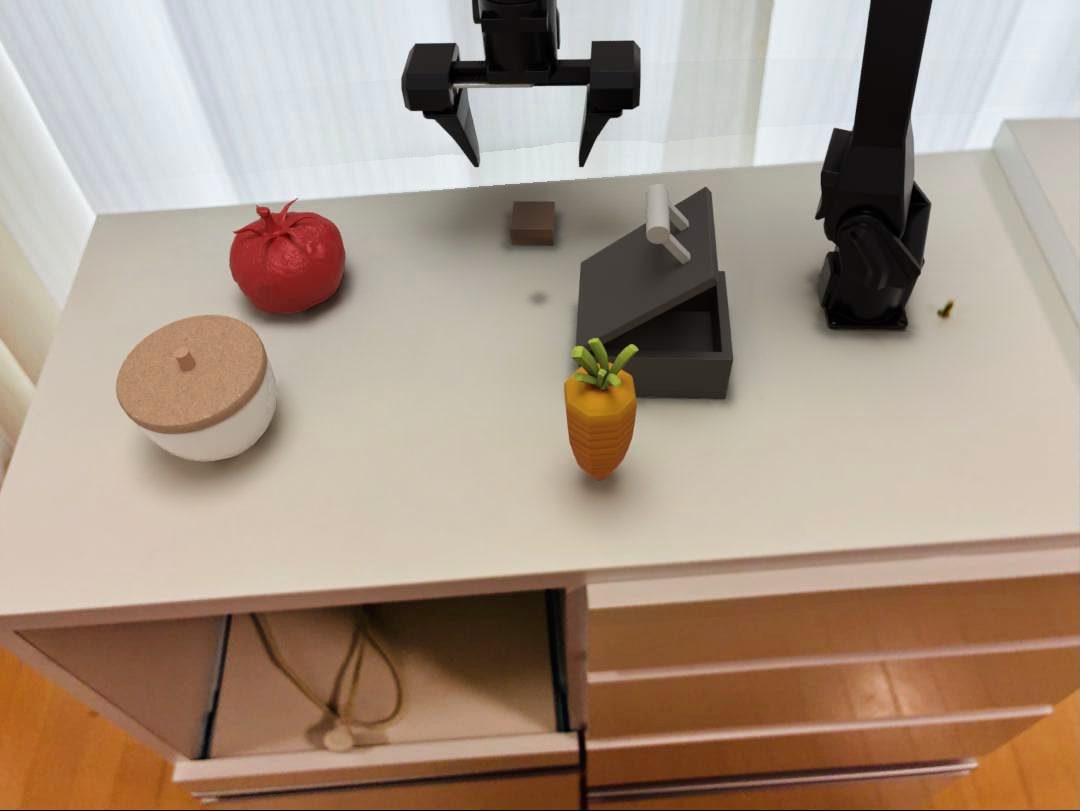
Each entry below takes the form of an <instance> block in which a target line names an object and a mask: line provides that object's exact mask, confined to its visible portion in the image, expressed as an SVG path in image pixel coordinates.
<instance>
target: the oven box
mask: <svg viewBox="0 0 1080 811" xmlns="http://www.w3.org/2000/svg"><path fill="white" fill-rule="evenodd" d="M718 273H719V284H717V285H715V286H713V287H711V288H709V289H707V290H705V291H704V292H702V293H700V294H698V295H696V296H694V297H692V298H690V299H688V300H686V301H684V302H683V303H681V304H679V305H677V306H675V307H673V308H671V309H669V310H667V311H665V312H663V313H662V314H660V315H658V316H656V317H654V318H652V319H650V320H648V321H646V322H644V323H642V324H641V325H639V326H637V327H635V328H633V329H631V330H629V331H627V332H625V333H623V334H621V335H620V336H618V337H616V338H614V339H612V340H610V341H608V342H606V343H604V344H603V346H604V349H605V351H606V353H607V357H608V363H612V364H614V362H615V360H616V359H617V357H618V355H619V354H620V353H621V352H622V351H623V350H624V349H625V348H626V347H627V346H629V345H630V344H633V345H635V346H636V347H637V348H638V349H639V350H638V351H637V352H636V353H635V354H634V355H633V356H632V357H631V358H630V359H629V361H628V362H627V363H626V364H625V365H624V367H623V368H622V370H623V371H625V372H626V373H628V374H630V375H631V376H632V378H633V383H634V389H635V395H636V398H668V399H669V398H670V399H671V398H674V399H675V398H677V399H712V400H713V399H716V400H717V399H718V400H719V399H720V400H725V399H726V396H727V391H728V387H729V382H730V378H731V372H732V368H733V362H734V353H733V343H732V332H731V322H730V321H731V320H730V310H729V300H728V289H727V288H728V287H727V279H726V271H725V270H718ZM589 353H590V354H591V355H592V357H593V358H594V359H595V361H596V363H599V362H598V359H597V357H596V356H595V354H594V352H593V351H592V350H591V351H589ZM580 367H581V365H579V364H578V369H579V368H580Z"/></svg>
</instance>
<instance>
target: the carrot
mask: <svg viewBox="0 0 1080 811" xmlns="http://www.w3.org/2000/svg"><path fill="white" fill-rule="evenodd" d="M588 344H589V345H590V347H591V349H592V351H593V352H594V354H595V356H596V357H597V359H598V362H599V363H596V361H595V359H594V358H593V357H592V355H591V354H590V353H589V352H588V351H587V350H586V349H585V348H584V347H582V346H577V347H576V346H574V347H573V349H572V351H571V358H572V360H574V361H575V363H577V364H578V366H579V365H581V367H580V368H579V367H578V369H576V371H575V372H574V373H573V374H571V375H570V376H569V377H568V378H567V379H566V380H565V382H564V384H563V392H564V393H563V394H564V404H565V416H566V426H567V433H568V441H569V445H570V449H571V451H572V454H573V456H574V458H575V461H576V464H577V465H578V466H579V467H580V468H581V469H582V472H584V473H586V474H587V475H588V476H590V477H591V478H592V479H594V480H595V481H604V480H605V479H607V478H608V477H610V476H611V474H612V473H613V472H614V471H615V470H617V468H618V467H619V466H620V464H622V462H623V461H624V459H625V457H626V455H627V453H628V450H629V449H630V445H631V444H632V440H633V436H634V431H635V430H634V429H635V424H636V417H637V409H638V407H637V406H638V401H637V397H636V395H635V389H634V383H633V378H632V376H631V375H630V374H628V373H626V372H625V371H623V370H622V368H623V367H624V365H625V364H626V363H627V362H628V361H629V359H630V358H631V357H632V356H633V355H634V354H635V353H636V352H637V351H638V350H639V349H638V348H637V347H636V346H635V345H633V344H630V345H629V346H627V347H626V348H625V349H624V350H623V351H622V352H621V353H620V354H619V355H618V357H617V359H616V360H615V362H614V364H612V363H608V357H607V353H606V351H605V349H604V346H603V344H602V343H601V341H600V340H599V338H593V339H591V340H589V341H588Z"/></svg>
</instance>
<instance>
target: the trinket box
mask: <svg viewBox="0 0 1080 811" xmlns="http://www.w3.org/2000/svg"><path fill="white" fill-rule="evenodd" d="M115 392H116V393H115V394H116V398H117V401H118V404H119V406H120V407H121V409H122V410H123V412H124V414H126V416H127V417H128V418H129V419H130V420H131V421H132V422H134V423H135V424H136V426H137V427H138V428H139V429H140V431H141V432H142V433H143V434H144V435H145V436H146V437H147V438H148V439H150V441H152V442H153V443H154V444H155V445H156V446H158V447H159V448H161V449H162V450H163V451H165V452H167V453H169V454H170V455H173V456H176V457H177V458H181V459H185V460H188V461H194V462H214V461H215V462H216V461H222V460H228V459H232V458H235V457H237V456H240V455H242V454H243V453H244V452H247V451H248V450H249V449H251V448H252V447H253V446H254V445H255V444H256V443H257V442H258V440H260V438H261V437H262V436H263V434H264V433H265V432H266V430H267V429H268V428H269V426H270V423H271V421H272V420H273V417H274V413H275V410H276V404H277V396H278V395H277V394H278V393H277V383H276V377H275V375H274V371H273V367H272V364H271V362H270V359H269V357H268V354H267V352H266V347H265V345H264V343H263V341H262V339H261V337H260V336H259V334H258V333H257V331H255V329H254V328H253V327H251V326H250V325H248V324H247V323H246V322H244V321H242V320H240V319H237V318H234V317H230V316H227V315H220V314H202V315H201V314H200V315H194V316H190V317H185V318H181V319H179V320H176V321H175V320H174V321H173V322H170V323H168V324H166V325H163V326H162V327H159V328H158V329H155V331H153V332H151V333H150V334H148V335H147V336H146V337H144V338H143V339H142V340H141V341H140V342H139V343H138V344H136V345H135V346H134V347H133V349H132V350H131V351H130V352H129V353H128V354H127V356H126V358H125V359H124V360H123V362H122V364H121V366H120V368H119V370H118V374H117V378H116V383H115Z"/></svg>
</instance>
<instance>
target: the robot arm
mask: <svg viewBox="0 0 1080 811" xmlns="http://www.w3.org/2000/svg"><path fill="white" fill-rule="evenodd" d="M869 1H870V2H869V8H868V16H867V25H866V31H865V38H864V44H863V45H864V46H863V53H862V60H861V68H860V74H859V75H860V76H859V83H858V90H857V97H856V105H855V111H854V119H853V120H854V121H853V126H852V128H851V130H848V129H843V128H838V127H833V128H832V132H831V135H830V139H829V142H828V146H827V149H826V152H825V155H824V156H825V157H824V160H823V163H822V166H821V171H820V191H821V193H820V198H819V200H818V205H817V209H816V212H815V215H814V220H815V221H821V220H823V225H822V226H823V234H824V235H825V238H826V240H827V241H829V242H831V243H833V244H834V248H833V251H832V250H829V251H828V252H826V254H825V257H824V260H823V264H822V268H821V271H820V272H819V275H818V281H817V285H816V289H817V295H818V300H819V305H820V307H821V308H822V309H823V310H824V315H825V320H826V325H827V328H829V329H832V330H868V331H870V330H871V331H905V330H906V329H907V328H908V326H909V319H908V316H907V311H906V307H907V305H908V303H909V300H910V298H911V295H912V293H913V291H914V289H915V286H916V284H917V282H918V279H919V277H920V276H921V274H922V270H923V267H924V265H925V263H926V260H925V257H924V256H925V250H926V242H927V237H928V229H929V224H930V218H931V212H932V202H931V200H930V199H929V198H928V197H927V195H926V193H924V191H923V190H922V189H921V187H920V186H919V184H918V183H917V182H916V180H915V169H916V168H915V137H914V130H913V123H912V112H913V106H914V99H915V95H916V89H917V84H918V79H919V74H920V69H921V63H922V58H923V52H924V48H925V42H926V36H927V32H928V28H929V27H928V26H929V21H930V18H931V17H930V15H931V10H932V6H933V1H934V0H869ZM471 10H472V12H471V13H472V21H473V23H474V24H475V25H480V29H481V30H480V31H481V37H482V47H483V55H484V60H461V52H460V47H459V45H458V43H457V42H423V43H422V42H421V43H419V42H417V43H414V44H413V46H412V47H411V49H410V50H409V52H408V55H407V58H406V61H405V64H404V67H403V71H402V74H401V79H400V84H401V85H400V86H401V87H400V89H401V95H402V99H403V104H404V108H406V109H407V110H408V111H410V112H421V113H422V114H421V115H422V117H423V118H424V119H426V120H434V121H435V122H436V123H437V124H438V125H439V126H440V127H441V128H442V129H443V131H445V132H446V133H447V134H448V135H449V137H450V138H452V140H453V141H454V142H455V144H457V146H458V147H459V148H460V150H461V151H462V152H463V154H464V156H466V158H467V159H468V161H469V162H470V164H472V166H473V167H474V168H479V167H480V164H481V154H480V144H479V139H478V135H477V132H476V127H475V123H474V119H473V113H472V108H471V106H470V102H469V101H470V100H469V90H468V89H497V88H498V89H502V88H503V89H509V88H510V89H512V88H513V89H514V88H515V89H516V88H517V89H518V88H519V89H521V88H523V89H524V88H533V87H586V90H585V98H584V99H585V100H584V105H583V107H584V108H583V115H582V122H581V130H580V137H579V138H580V139H579V144H578V168H584V167H585V165H586V162H587V160H588V159H589V156H590V154H591V151H592V150H593V148H594V145H595V143H596V141H597V139H598V137H599V135H601V133H602V131H603V130H604V128H605V127H606V125H607V124H608V123H609V121H610V120H612V119H619V118H621V117H622V116H623V114H624V111H625V110H626V111H627V110H628V111H630V110H631V111H632V110H634V109H636V108H638V107H639V106H640V105H641V86H642V85H641V84H642V83H641V81H642V80H641V79H642V65H641V64H642V62H641V60H642V58H641V54H642V52H641V47H640V46H639V44H638V43H637V42H636V41H635V40H633V39H631V40H629V39H627V40H625V39H624V40H591V46H590V58H564V59H563V58H562V59H561V58H560V59H558V58H559V57H558V50H560V48H561V17H560V16H561V15H560V11H559V8H558V2H557V0H471Z"/></svg>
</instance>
